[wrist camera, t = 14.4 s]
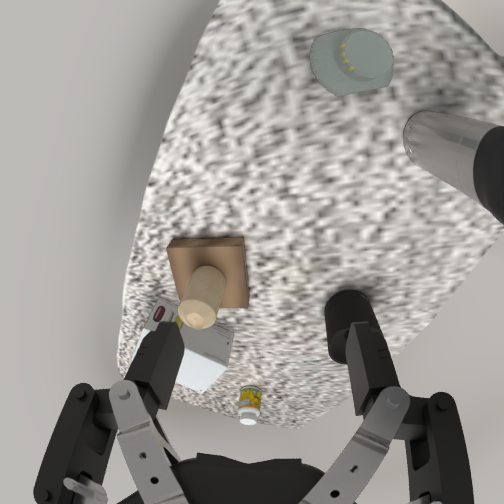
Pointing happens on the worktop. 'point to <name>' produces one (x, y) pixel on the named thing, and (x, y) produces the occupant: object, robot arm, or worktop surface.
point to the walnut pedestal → (212, 254)
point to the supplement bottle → (249, 404)
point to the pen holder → (346, 320)
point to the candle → (202, 298)
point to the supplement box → (194, 348)
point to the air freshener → (351, 61)
